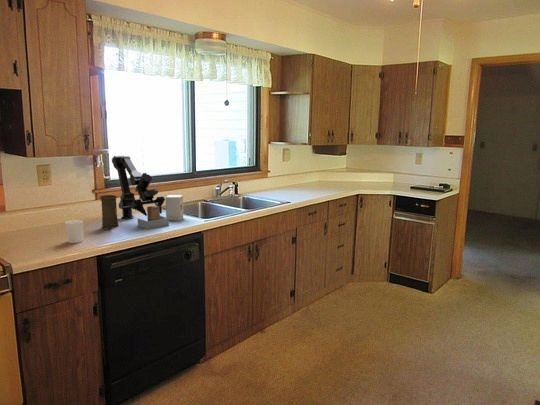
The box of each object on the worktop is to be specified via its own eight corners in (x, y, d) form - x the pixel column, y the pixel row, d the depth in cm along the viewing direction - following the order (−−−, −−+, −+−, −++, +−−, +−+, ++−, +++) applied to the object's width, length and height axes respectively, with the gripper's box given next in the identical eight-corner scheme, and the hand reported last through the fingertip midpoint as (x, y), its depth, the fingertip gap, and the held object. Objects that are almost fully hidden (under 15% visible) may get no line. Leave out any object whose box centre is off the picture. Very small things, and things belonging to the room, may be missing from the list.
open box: (137, 227, 229) (137, 218, 229) (159, 223, 239) (159, 215, 238) (146, 230, 222) (146, 221, 221) (168, 226, 232) (168, 218, 231)
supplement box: (180, 221, 244) (180, 197, 242) (165, 221, 244) (165, 197, 242) (183, 218, 253) (183, 194, 251) (169, 218, 253) (168, 194, 251)
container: (104, 230, 221) (102, 198, 218) (99, 227, 228) (97, 195, 225) (121, 228, 227) (119, 196, 224) (115, 225, 234) (114, 194, 231)
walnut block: (147, 225, 230) (147, 206, 228) (155, 224, 233) (155, 205, 231) (152, 227, 226) (151, 208, 224) (160, 225, 230) (159, 206, 228)
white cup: (64, 241, 200) (62, 221, 198) (81, 238, 206) (79, 219, 204) (70, 244, 195) (68, 224, 193) (87, 241, 200) (85, 221, 198)
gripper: (132, 185, 223) (142, 208, 217) (162, 182, 236) (173, 203, 230) (126, 197, 230) (136, 220, 224) (156, 194, 242) (166, 215, 237)
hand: (153, 214), depth 228 cm, fingers open, 9 cm apart
